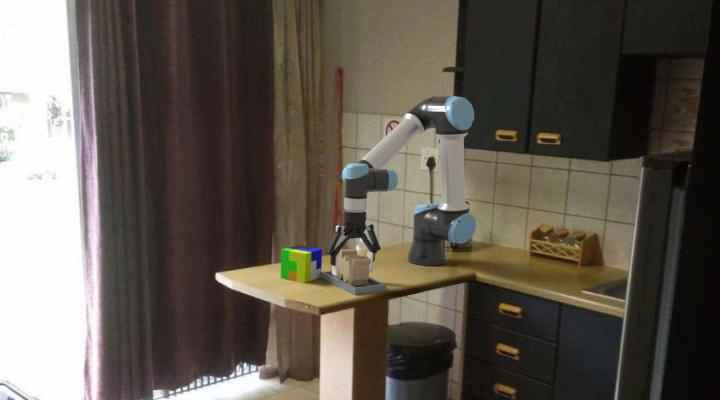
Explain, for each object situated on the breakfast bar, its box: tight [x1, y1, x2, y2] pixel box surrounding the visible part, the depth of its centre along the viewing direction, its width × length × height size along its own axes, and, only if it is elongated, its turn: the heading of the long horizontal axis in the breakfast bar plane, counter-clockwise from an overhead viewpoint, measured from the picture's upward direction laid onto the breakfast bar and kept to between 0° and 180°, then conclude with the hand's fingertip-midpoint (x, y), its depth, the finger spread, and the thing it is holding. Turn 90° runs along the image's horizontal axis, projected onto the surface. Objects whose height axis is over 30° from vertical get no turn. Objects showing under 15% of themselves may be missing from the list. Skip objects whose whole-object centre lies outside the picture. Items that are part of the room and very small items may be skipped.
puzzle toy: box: [280, 244, 323, 284], centre depth 218 cm, size 10×10×10 cm
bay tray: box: [319, 270, 387, 295], centre depth 213 cm, size 23×12×2 cm, turn 32°
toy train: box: [338, 249, 371, 286], centre depth 213 cm, size 6×17×10 cm, turn 21°
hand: (352, 273), depth 213 cm, fingers open, 13 cm apart
